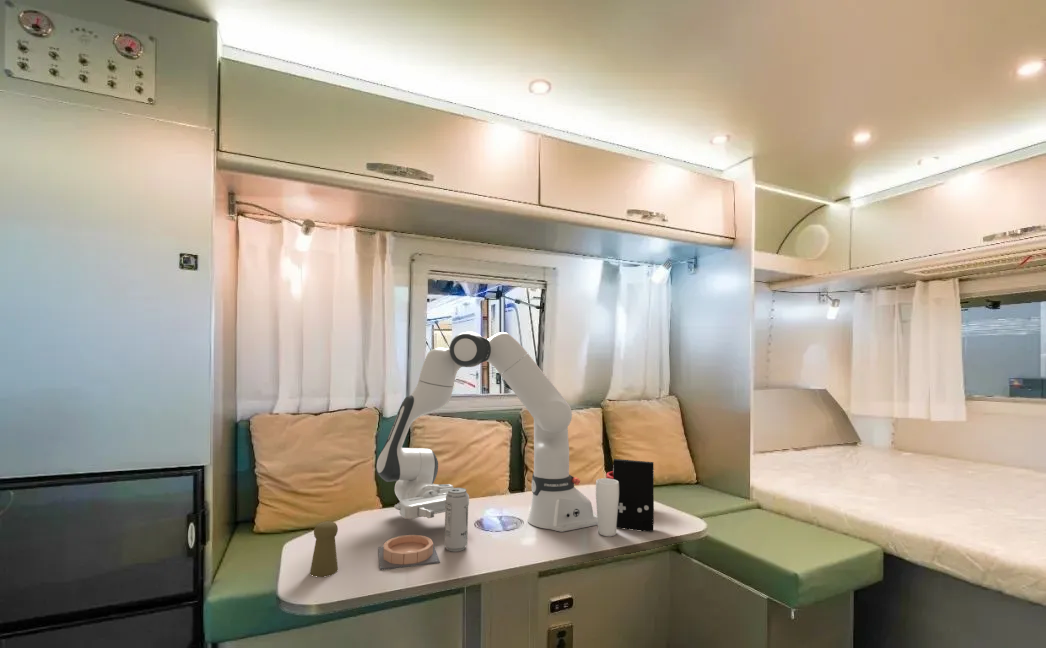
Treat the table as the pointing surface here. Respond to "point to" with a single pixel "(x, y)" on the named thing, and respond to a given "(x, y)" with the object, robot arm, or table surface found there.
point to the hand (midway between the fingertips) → (447, 511)
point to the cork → (324, 550)
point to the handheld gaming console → (635, 494)
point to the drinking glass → (607, 505)
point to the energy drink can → (456, 519)
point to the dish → (407, 552)
